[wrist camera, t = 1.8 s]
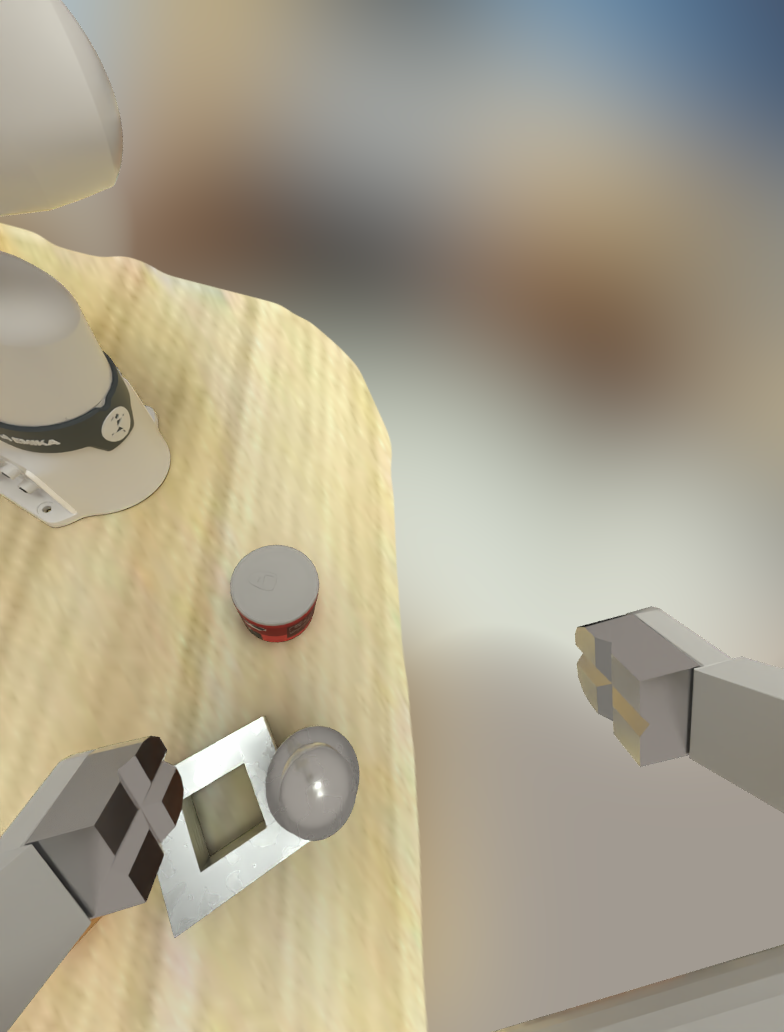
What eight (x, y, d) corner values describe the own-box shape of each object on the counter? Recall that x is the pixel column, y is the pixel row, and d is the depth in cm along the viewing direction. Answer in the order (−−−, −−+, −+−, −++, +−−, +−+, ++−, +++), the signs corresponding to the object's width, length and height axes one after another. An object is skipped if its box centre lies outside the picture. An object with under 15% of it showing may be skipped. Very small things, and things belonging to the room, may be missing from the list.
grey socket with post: (186, 914, 33) (70, 1140, 16) (149, 780, 36) (18, 844, 19) (358, 793, 40) (411, 857, 22) (313, 689, 43) (328, 673, 25)
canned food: (242, 581, 46) (229, 547, 37) (311, 574, 48) (315, 541, 39) (242, 648, 43) (228, 630, 33) (316, 638, 45) (323, 618, 36)
